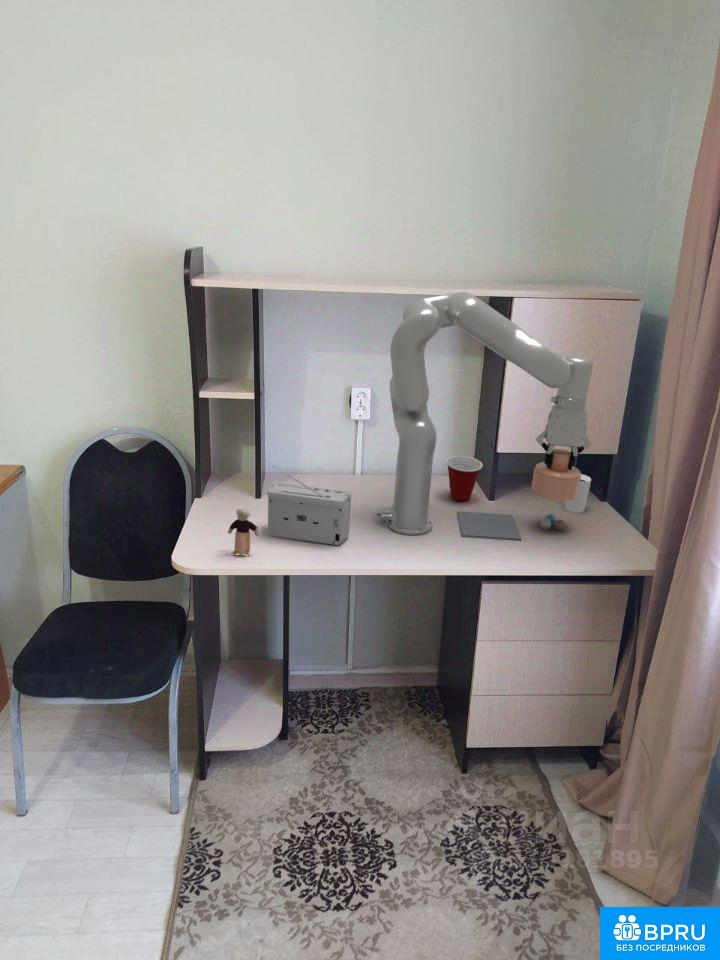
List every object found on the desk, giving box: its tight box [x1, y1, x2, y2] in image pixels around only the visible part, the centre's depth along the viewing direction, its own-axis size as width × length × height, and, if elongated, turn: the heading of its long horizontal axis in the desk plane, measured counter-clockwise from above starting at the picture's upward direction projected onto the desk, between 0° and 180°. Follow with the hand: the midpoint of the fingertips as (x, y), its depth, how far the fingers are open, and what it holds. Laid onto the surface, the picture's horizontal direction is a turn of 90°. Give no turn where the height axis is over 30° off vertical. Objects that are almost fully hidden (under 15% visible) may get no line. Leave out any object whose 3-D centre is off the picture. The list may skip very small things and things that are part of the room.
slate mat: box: [456, 510, 522, 541], centre depth 203 cm, size 16×16×1 cm
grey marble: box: [539, 517, 552, 530], centre depth 203 cm, size 3×3×3 cm
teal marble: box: [544, 513, 557, 526], centre depth 207 cm, size 3×3×3 cm
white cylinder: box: [564, 473, 592, 514], centre depth 217 cm, size 7×7×10 cm
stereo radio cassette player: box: [267, 464, 352, 546], centre depth 188 cm, size 21×8×20 cm, turn 78°
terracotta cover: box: [530, 448, 582, 502], centre depth 199 cm, size 12×12×12 cm
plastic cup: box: [446, 455, 483, 503], centre depth 219 cm, size 11×11×12 cm
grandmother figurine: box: [227, 506, 260, 555], centre depth 178 cm, size 8×4×13 cm, turn 95°
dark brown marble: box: [553, 519, 566, 531], centre depth 203 cm, size 3×3×3 cm
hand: (558, 466), depth 198 cm, fingers closed on terracotta cover, 5 cm apart
